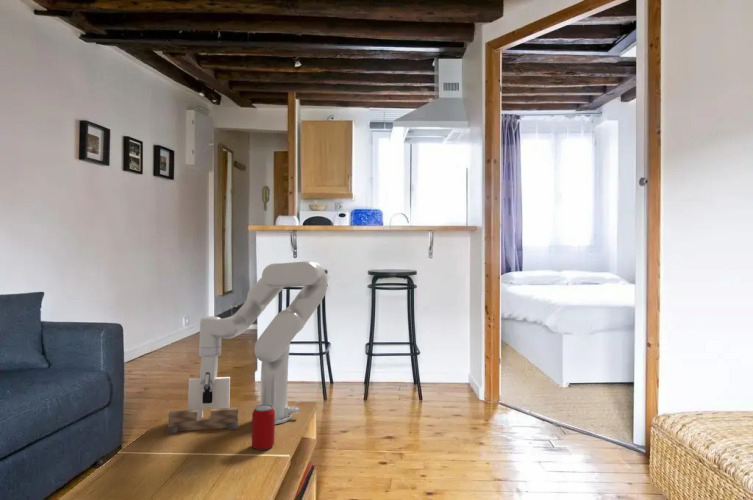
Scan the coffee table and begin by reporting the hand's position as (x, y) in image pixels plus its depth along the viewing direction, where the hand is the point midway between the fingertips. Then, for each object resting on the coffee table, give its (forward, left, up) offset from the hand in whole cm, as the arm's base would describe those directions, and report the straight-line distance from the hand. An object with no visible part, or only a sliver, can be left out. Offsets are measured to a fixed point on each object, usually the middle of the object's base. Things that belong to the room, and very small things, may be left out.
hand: (209, 399), depth 161 cm
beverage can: (-20, +30, -7) cm, 37 cm away
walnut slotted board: (0, +11, -6) cm, 13 cm away
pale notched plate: (0, 0, -6) cm, 6 cm away
